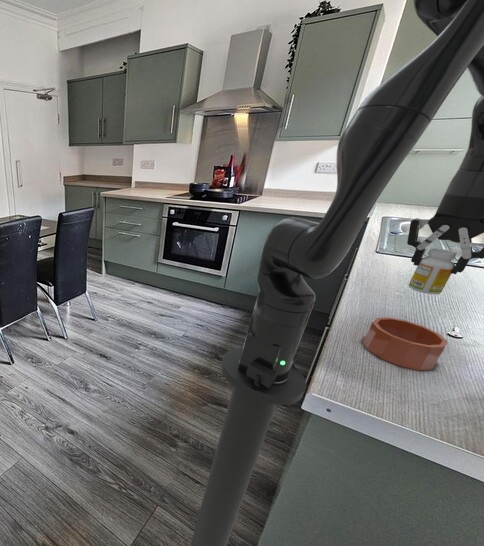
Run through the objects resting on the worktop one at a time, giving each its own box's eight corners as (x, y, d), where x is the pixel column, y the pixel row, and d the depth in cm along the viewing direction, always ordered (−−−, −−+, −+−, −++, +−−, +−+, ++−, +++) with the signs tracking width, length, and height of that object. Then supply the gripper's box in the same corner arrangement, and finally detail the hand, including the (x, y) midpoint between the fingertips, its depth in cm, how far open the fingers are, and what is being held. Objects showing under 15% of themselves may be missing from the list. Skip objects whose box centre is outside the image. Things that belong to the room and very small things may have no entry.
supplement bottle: (440, 290, 73) (460, 251, 69) (441, 297, 69) (462, 256, 66) (407, 283, 76) (425, 245, 73) (407, 289, 73) (426, 250, 69)
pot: (427, 377, 64) (441, 354, 62) (357, 348, 73) (366, 327, 70) (438, 357, 70) (451, 335, 68) (372, 332, 79) (381, 312, 76)
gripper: (419, 190, 67) (387, 262, 74) (530, 200, 57) (481, 284, 63) (427, 187, 71) (396, 256, 78) (532, 196, 61) (485, 275, 67)
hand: (434, 268), depth 71 cm, fingers closed on supplement bottle, 5 cm apart
